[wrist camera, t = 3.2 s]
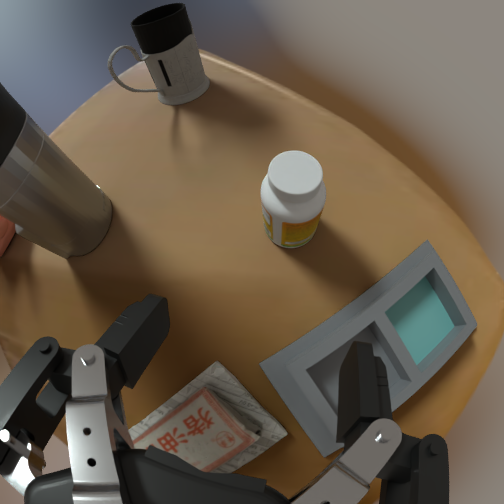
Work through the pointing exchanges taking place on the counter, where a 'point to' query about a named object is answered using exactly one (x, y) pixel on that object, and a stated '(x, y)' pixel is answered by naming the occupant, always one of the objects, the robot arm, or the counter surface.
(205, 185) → the counter surface
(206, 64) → the counter surface
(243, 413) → the packaged product
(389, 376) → the divided tray
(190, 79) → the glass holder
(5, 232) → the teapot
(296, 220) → the supplement bottle
